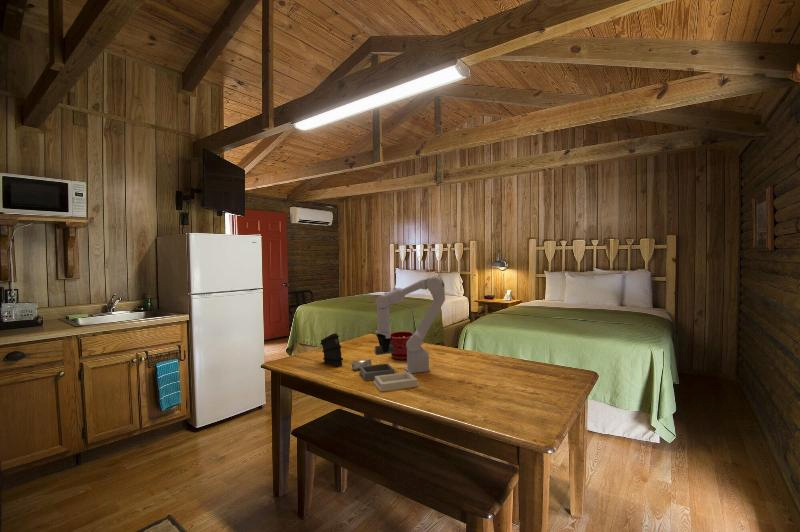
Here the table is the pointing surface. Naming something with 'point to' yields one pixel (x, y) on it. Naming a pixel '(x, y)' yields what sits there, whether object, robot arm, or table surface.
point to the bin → (375, 371)
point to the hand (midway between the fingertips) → (384, 350)
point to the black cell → (379, 350)
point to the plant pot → (400, 344)
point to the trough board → (395, 381)
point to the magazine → (332, 350)
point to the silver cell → (360, 364)
